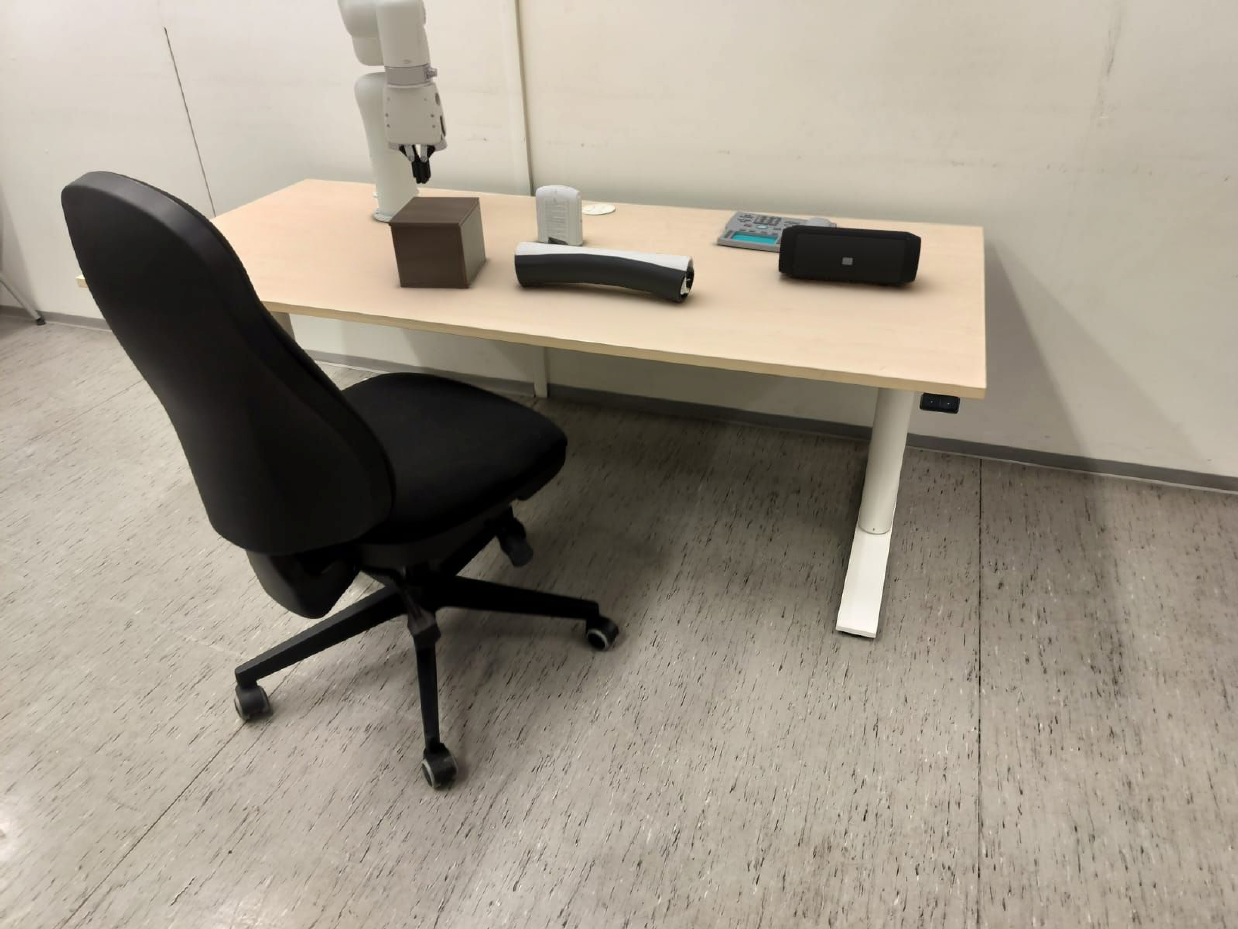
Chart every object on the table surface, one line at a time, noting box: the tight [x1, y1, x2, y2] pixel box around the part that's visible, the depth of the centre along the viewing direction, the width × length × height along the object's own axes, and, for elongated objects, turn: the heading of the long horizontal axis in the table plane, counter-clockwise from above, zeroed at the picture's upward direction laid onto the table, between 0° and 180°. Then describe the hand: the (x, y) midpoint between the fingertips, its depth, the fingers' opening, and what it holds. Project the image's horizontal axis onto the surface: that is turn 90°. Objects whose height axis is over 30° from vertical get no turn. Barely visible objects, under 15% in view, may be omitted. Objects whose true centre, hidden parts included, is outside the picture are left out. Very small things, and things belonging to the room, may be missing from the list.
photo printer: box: [535, 184, 584, 247], centre depth 184 cm, size 10×4×12 cm, turn 72°
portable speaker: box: [777, 225, 922, 287], centre depth 163 cm, size 26×10×10 cm, turn 75°
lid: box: [387, 196, 480, 227], centre depth 166 cm, size 16×14×1 cm
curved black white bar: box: [513, 237, 695, 303], centre depth 163 cm, size 35×9×14 cm
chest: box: [389, 201, 487, 289], centre depth 170 cm, size 16×14×12 cm
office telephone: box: [716, 211, 838, 253], centre depth 187 cm, size 23×3×20 cm
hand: (423, 181), depth 159 cm, fingers closed
